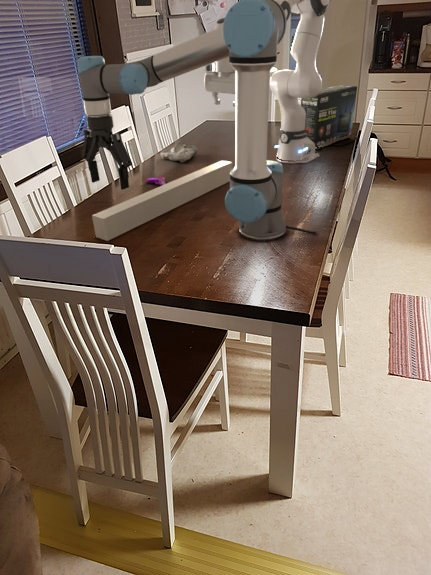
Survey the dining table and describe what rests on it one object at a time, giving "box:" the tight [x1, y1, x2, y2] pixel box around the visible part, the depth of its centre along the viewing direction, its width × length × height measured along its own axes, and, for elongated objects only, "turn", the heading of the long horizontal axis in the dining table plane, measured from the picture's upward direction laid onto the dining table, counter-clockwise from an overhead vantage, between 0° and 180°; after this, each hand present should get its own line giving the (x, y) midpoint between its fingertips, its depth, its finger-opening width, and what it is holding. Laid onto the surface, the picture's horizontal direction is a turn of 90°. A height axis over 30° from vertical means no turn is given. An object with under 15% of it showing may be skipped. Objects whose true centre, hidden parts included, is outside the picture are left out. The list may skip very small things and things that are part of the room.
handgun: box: [146, 176, 167, 187], centre depth 190 cm, size 21×8×2 cm, turn 11°
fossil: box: [160, 142, 199, 163], centre depth 229 cm, size 18×11×15 cm
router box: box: [300, 84, 358, 146], centre depth 238 cm, size 36×11×27 cm, turn 134°
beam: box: [91, 159, 233, 242], centre depth 172 cm, size 72×6×8 cm, turn 144°
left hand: (110, 184), depth 146 cm, fingers open, 13 cm apart
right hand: (226, 105), depth 181 cm, fingers open, 8 cm apart
